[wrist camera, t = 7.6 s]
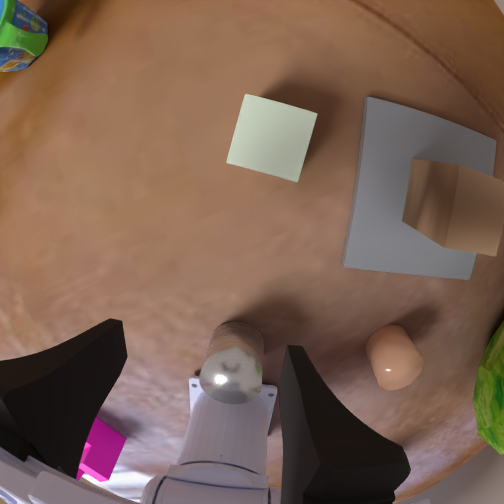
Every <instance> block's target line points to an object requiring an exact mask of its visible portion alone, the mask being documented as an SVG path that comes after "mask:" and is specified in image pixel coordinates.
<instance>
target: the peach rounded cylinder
mask: <svg viewBox="0 0 504 504" xmlns="http://www.w3.org/2000/svg"><path fill="white" fill-rule="evenodd" d="M366 354H367V356H368V359H369V361H370V364H371V366H372V369H373V371H374V374H375V376H376V379H377V382H378V384H379V386H380V387H381V388H383V389H385V390H398V389H401V388H404V387H406V386H408V385H409V384H411V383H412V382H413V381H414V380H415V379H416V378H417V377H418V376H419V375H420V373H421V371H422V369H423V359H422V357H421V355H420V354H419V352H418V351H417V349H416V347H415V346H414V344H413V343H412V341H411V339H410V338H409V336H408V335H407V333H406V332H405V330H404V329H403V328H402V327H400V326H398V325H388V326H384V327H382V328H380V329H378V330H377V331H375V332H374V333H373V334H372V335H371V336H370V338H369V339H368V341H367V343H366Z"/></svg>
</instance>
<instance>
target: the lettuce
mask: <svg viewBox="0 0 504 504" xmlns="http://www.w3.org/2000/svg"><path fill="white" fill-rule="evenodd" d="M473 403H474V408H475V414H476V420H477V427H478V434H479V436H480V437H481V438H483V439H484V440H485V441H486V442H487V443H488V444H490V445H491V446H492V447H493V448H494V449H495V450H497V451H498V452H499V453H500V454H504V321H503V322H502V323H501V325H500V327H499V328H498V330H497V331H496V333H495V334H494V335H493V337H492V338H491V340H490V341H489V343H488V346H487V348H486V351H485V353H484V355H483V358H482V360H481V362H480V364H479V367H478V372H477V379H476V385H475V391H474V397H473Z"/></svg>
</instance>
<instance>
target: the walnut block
mask: <svg viewBox="0 0 504 504" xmlns="http://www.w3.org/2000/svg"><path fill="white" fill-rule="evenodd" d="M402 222H404V223H405V224H407V225H409V226H410V227H412V228H414V229H415V230H417V231H418V232H420V233H422V234H423V235H425V236H426V237H428V238H429V239H431V240H433V241H434V242H436V243H437V244H439V245H440V246H442V247H443V248H448V249H454V250H460V251H466V252H472V253H478V254H484V255H490V256H495V257H496V254H497V250H498V247H499V243H500V239H501V235H502V231H503V226H504V181H503V180H500V179H497V178H495V177H492V176H490V175H487V174H484V173H481V172H479V171H476V170H473V169H470V168H467V167H464V166H461V165H457V164H450V163H443V162H435V161H427V160H419V159H412V162H411V169H410V176H409V183H408V189H407V195H406V201H405V207H404V212H403V217H402Z"/></svg>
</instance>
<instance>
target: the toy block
mask: <svg viewBox="0 0 504 504" xmlns="http://www.w3.org/2000/svg"><path fill="white" fill-rule="evenodd" d="M125 441H126V438H124V437H123V436H121V435H120V434H119V433H117V432H116V431H114V430H113V429H112V428H110V427H109V426H108V425H106V424H105V423H104V422H102V421H101V420H100V419H98V418H97V417H96V418H95V420H94V423H93V425H92V428H91V430H90V433H89V436H88V438H87V441H86V444H85V447H84V450H83V454H82V457H81V461H80V465H79V469H78V474H77V478H76V480H78V481H79V479H80V478H81V477H82V475H83V474H84V473H85V472H86V473H87V474H89V475H90V476H92V477H93V478H95V479H97V480H98V481H100V482H102V481H107V480H109V478H110V476H111V474H112V471H113V469H114V467H115V464H116V462H117V460H118V457H119V455H120V453H121V450H122V448H123V446H124V444H125Z"/></svg>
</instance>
